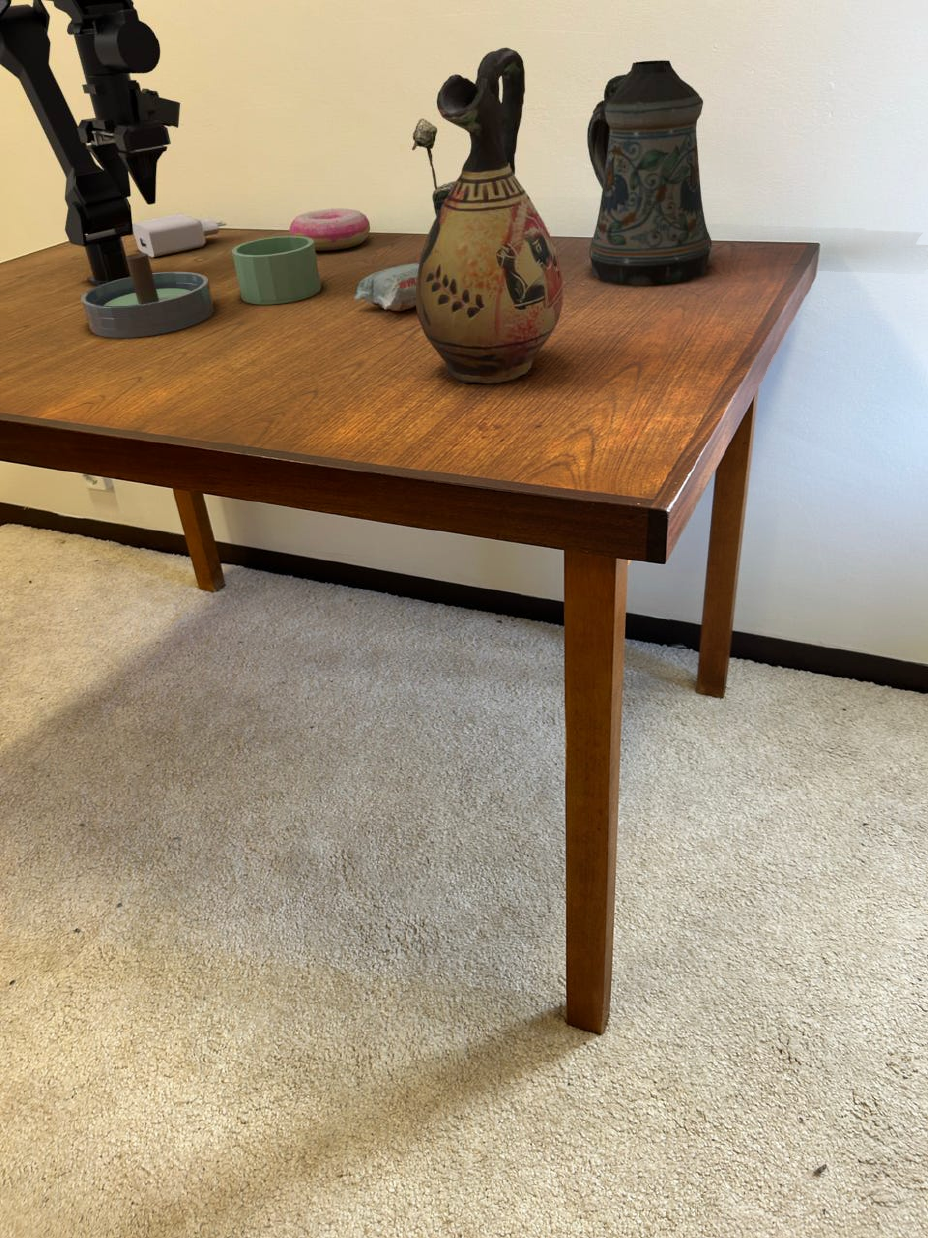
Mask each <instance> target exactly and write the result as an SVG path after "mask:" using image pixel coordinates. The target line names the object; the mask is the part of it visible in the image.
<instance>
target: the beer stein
mask: <svg viewBox="0 0 928 1238" xmlns="http://www.w3.org/2000/svg"><path fill="white" fill-rule="evenodd" d="M603 91H604V92H603V99H602V100H601V101H599V102H598V103H596V105H595V107H594V109H593V110H592V115H591V118H590V119H589V122H588V126H587V132H586V142H587V149H588V156H589V159H590V164H591V166H592V169H593V172H594V175H595V177H596V179H597V181H598V183H599V185H600V187H601V189H602V191H601V197H600V205H599V209H598V215H597V221H596V225H595V230H594V233H593V236H592V239H591V240H590V244H589V249H588V250H589V251H588V252H589V258H590V262H591V267H592V268H591V269H592V275H593V276H594V277H595V278H597V279H598V280H601V281H603V282H606V283H612V284H617V285H621V286H622V285H624V286H636V287H643V286H644V287H645V286H660V285H661V286H665V285H669V284H675V283H681V282H687V281H690V280H693V279H695V278H698V277H701V276H704V275H705V273H706V270H707V269H706V268H707V265H708V260H709V257H710V253H711V249H712V246H713V241H712V237H711V235H710V233H709V230H708V228H707V224H706V219H705V212H704V206H703V200H702V199H703V198H702V189H701V177H700V164H699V150H698V136H697V125H698V120H699V118H700V116H701V115H702V110H703V107H704V100H703V98H702V97H701V96H700V94H699V93H698V92H697V90H695V89H694V88H693V86H691V85H690V84H689V83H687V82H686V81H685V80H683V79H682V78H681V77H680V76H679V74H678V73H677V72H676V70H674V68H673V66H672V63H671V61H670V60H665V59H662V60H659V59H658V60H644V61H636V62H632V65H631V69H630V71H629V72H627V73H626V74H620V75H619V74H618V75H616V76H614V77H612V78H610V79H609V80H608V81H607V83H606V85H605V89H604V90H603Z"/></svg>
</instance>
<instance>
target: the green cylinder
mask: <svg viewBox="0 0 928 1238" xmlns="http://www.w3.org/2000/svg"><path fill="white" fill-rule="evenodd" d="M231 255H232V259H233V263H234V269H235V274H236V278H237V284H238V288H239V293H240V298H241V301H243V302H244V303H247V304H252V305H262V306H264V305H265V306H266V305H267V306H268V305H281V304H287V303H288V304H289V303H293V302H298V301H302V300H305V299H308V298H311V297H313V296H315V295H317V294H319V292H320V291H321V289H322V287H321V286H322V284H321V283H322V282H321V276H320V272H319V265H318V259H317V250H315V245H314V241H313V240H312V239H311V238H307V237H304V236H290V235H281V236H280V235H279V236H269V237H264V238H263V237H262V238H259V239H253V240H250V241H246V242H243V243H241V244H238V245H236V246H234V247H233V248H232V249H231Z"/></svg>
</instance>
